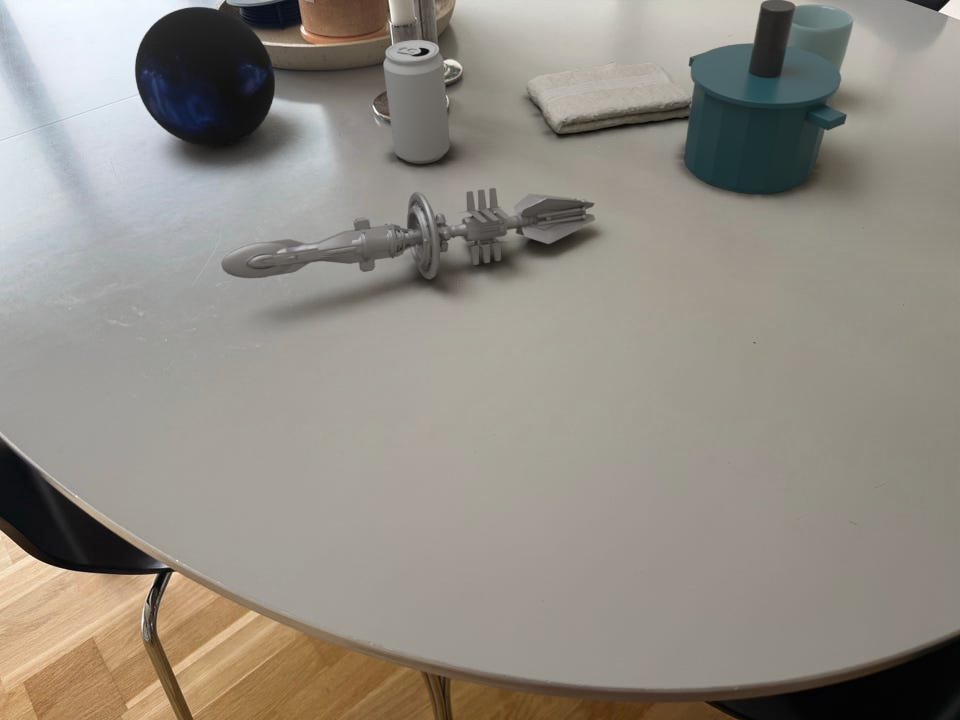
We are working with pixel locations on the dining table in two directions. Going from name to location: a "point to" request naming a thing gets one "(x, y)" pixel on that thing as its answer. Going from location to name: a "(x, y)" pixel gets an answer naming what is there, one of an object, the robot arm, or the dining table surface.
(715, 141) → the pot
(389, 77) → the beverage can
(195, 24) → the decorative sphere
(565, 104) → the washcloth
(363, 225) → the spaceship
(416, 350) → the dining table surface
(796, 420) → the dining table surface
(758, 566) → the dining table surface
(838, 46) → the cup
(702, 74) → the lid
